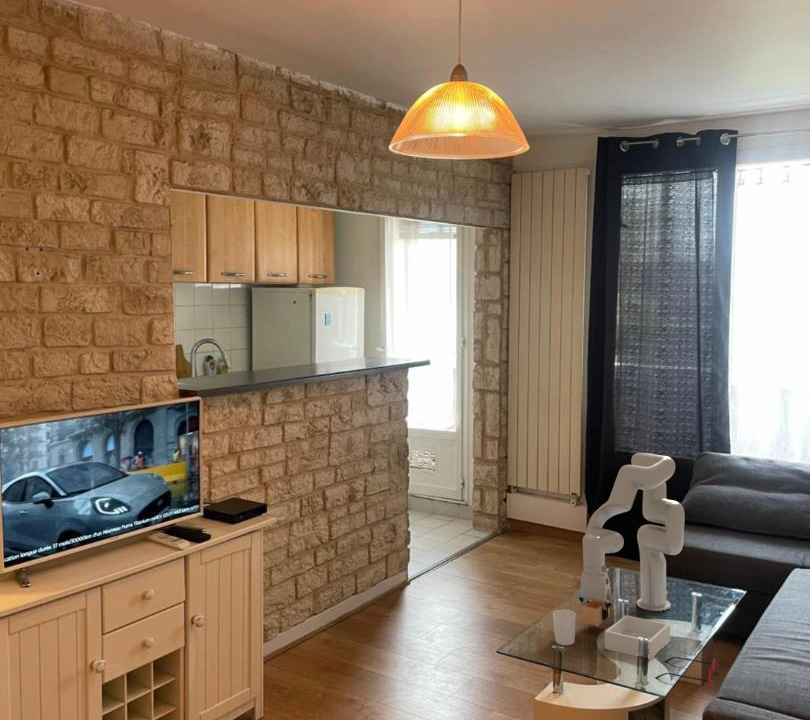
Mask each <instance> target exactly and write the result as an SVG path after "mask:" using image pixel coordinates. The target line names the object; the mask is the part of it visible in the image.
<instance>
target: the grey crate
mask: <svg viewBox="0 0 810 720" xmlns="http://www.w3.org/2000/svg"><path fill="white" fill-rule="evenodd" d="M638 637H644V638H647V639H648V640H647V641H648V649H649V658H650V659H651V660H653V659H654V657H656V656H657V655H656V654H657V653H658V652H659V651H660V650H661V649H662V648H663V649H664V648H665V647H666V646H667V645H668V644H669V643H670V642H671V624H670V623H664V622H659V621H655V620H650V619H646V618H642V617H641V618H640V617H637V616H631V615H628V614H625V615H624V616H622V617H621V618H620V619H619V620H617V621H616V622H615V623H614V624H612V625H611V626H610V627H609V628H607V629H606V630H605V631H604V649H605V650H609V651H612V652H613V651H614V652H616V653H617V652H618V653H620V654H626V655H630V656H633V657H637V654H638V646H639V639H641V638H638ZM664 646H665V647H664ZM663 649H662V650H663ZM662 650H661V651H662ZM661 651H660V652H661ZM660 652H659V653H660ZM659 653H658V654H659ZM655 655H656V656H655ZM650 659H649V660H650Z"/></svg>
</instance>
